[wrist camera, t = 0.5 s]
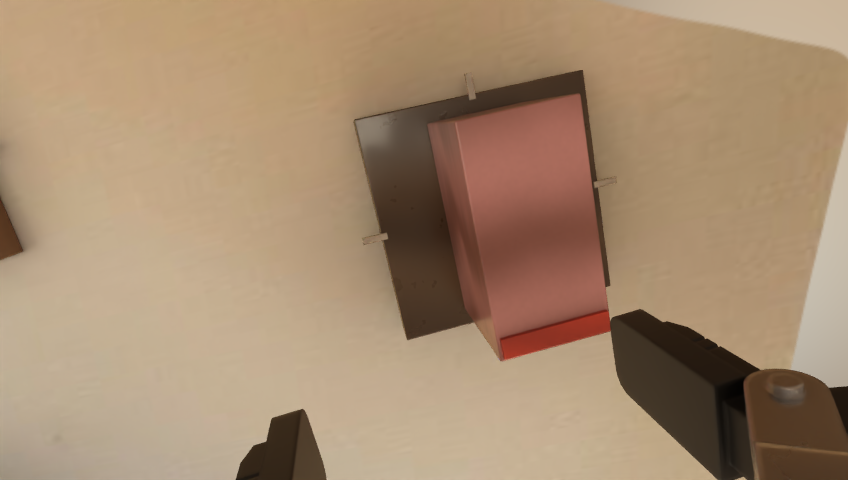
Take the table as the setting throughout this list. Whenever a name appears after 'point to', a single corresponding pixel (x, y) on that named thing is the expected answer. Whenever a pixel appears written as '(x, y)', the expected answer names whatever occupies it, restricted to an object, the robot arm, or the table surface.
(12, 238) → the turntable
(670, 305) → the table surface
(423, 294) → the brown square platform
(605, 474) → the table surface
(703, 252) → the table surface
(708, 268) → the table surface
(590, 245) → the pink rectangular block
